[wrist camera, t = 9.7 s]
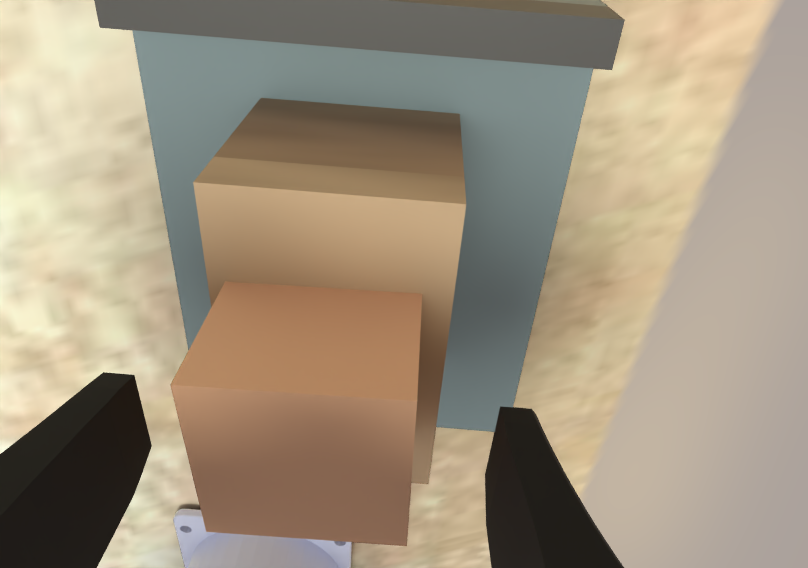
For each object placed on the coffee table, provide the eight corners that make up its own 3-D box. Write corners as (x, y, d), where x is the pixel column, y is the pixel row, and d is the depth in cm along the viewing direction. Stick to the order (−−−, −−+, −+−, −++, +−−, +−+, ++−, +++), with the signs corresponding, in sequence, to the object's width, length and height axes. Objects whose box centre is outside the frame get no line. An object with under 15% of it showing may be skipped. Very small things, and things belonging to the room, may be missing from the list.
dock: (503, 402, 23) (510, 467, 20) (211, 377, 23) (183, 438, 20) (594, -5, 15) (624, 19, 12) (147, -42, 15) (89, -25, 12)
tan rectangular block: (431, 355, 20) (428, 484, 16) (277, 343, 20) (234, 467, 16) (459, 113, 15) (466, 204, 11) (260, 97, 15) (193, 182, 11)
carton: (412, 430, 14) (406, 546, 12) (246, 419, 15) (206, 531, 12) (421, 293, 12) (417, 401, 10) (224, 281, 12) (170, 384, 10)
